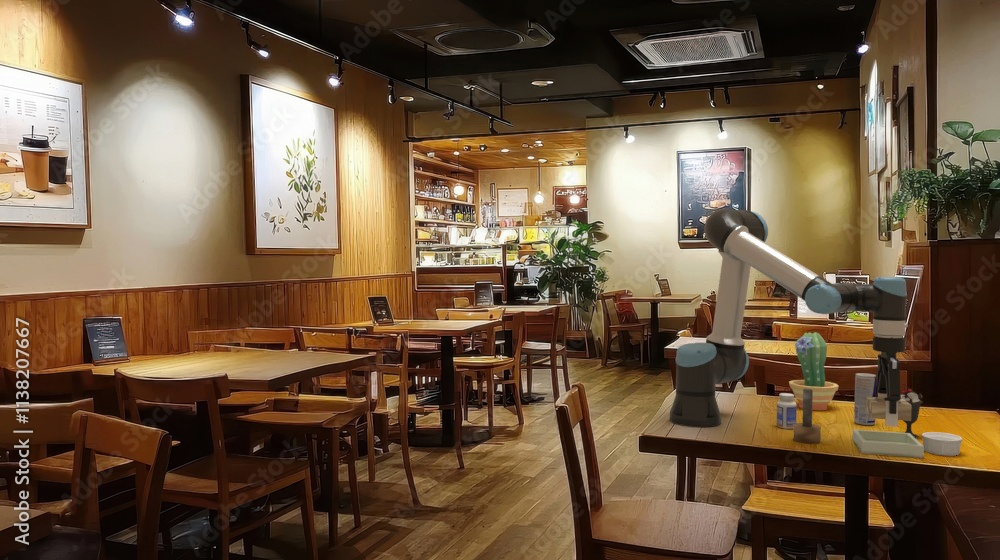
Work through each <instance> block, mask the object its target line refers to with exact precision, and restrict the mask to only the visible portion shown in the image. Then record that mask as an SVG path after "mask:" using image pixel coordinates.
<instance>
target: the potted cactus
mask: <svg viewBox="0 0 1000 560" xmlns="http://www.w3.org/2000/svg"><path fill="white" fill-rule="evenodd" d="M794 346H795V347H794V348H795V354H796V355H797V359H798V362H799V363H800V367H801V371H802V376H803V379H794V380H793V379H792V380H790V381H788V383H789V387H790V388H791V389H792V392H793V395H794V398H795V399H796V400H797V402H798V408H801V409H803V389H812V390H813V400H812V411H826V410H828V406H829V404H830V403H831V401H832V400H833V398H834V396H835V393H836V392H838V390H839V386H840V385H838V383H835V382H832V381H826V374H825V364H826V361H827V360H826V359H827V353H828V345H827V342H826V341H825V340H824V338H823V337H822V335H821V334H820V332H816V331H815V332H813V333H812V332H808V333H807V332H805V333H804V334H803V335H802V336H801V337H799V339H796V342H795V343H794Z"/></svg>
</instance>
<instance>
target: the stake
mask: <svg viewBox="0 0 1000 560" xmlns="http://www.w3.org/2000/svg"><path fill="white" fill-rule="evenodd" d="M812 400H813V390H812V389H803V408H802V422H796V424H794V429H793V441H795V442H797V443H802V444H811V445H812V444H820V443H821V442H822V441H821V440H822V438H821V437H822V436H821V435H822V434H821V432H822V431H821V428H822V427H821V426H820V425H818V424H815V423H813V410H812Z"/></svg>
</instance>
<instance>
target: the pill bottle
mask: <svg viewBox="0 0 1000 560" xmlns="http://www.w3.org/2000/svg"><path fill="white" fill-rule="evenodd" d="M778 395H779V400H778V401H777V402H776V427H777V428H780V429H786V430H794V424H796V423H797V408H798V407H797V403H796V401H794V400H795V395H794V393H789V392H788V393H787V392H781V393H779V394H778Z"/></svg>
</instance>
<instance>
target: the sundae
mask: <svg viewBox="0 0 1000 560" xmlns="http://www.w3.org/2000/svg"><path fill="white" fill-rule="evenodd" d="M902 385H903V387H904V388H903V390H902V391H901V393H900V395H901V399H904V400H905V401H907V402H908V403H909V404H911V405H912V407H911V421H905V420H902V421H903V422H904V423H905V424H906V430H905V431H904V433H910V434H911V435H912V436H913V437H914V438H916V439H918V438H920V437H919V435H917V434H915V433H913V430H912V425H913V424H914V423H916V422H917V421H918V418H919V413H920V408H921V405H922V403H923V400H922V399H923V395H922V393H919V394H917V392H915V391H914V390H912V388H910V387H908V386H907V385H906V383H902ZM906 388H907V390H905V389H906Z"/></svg>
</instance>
